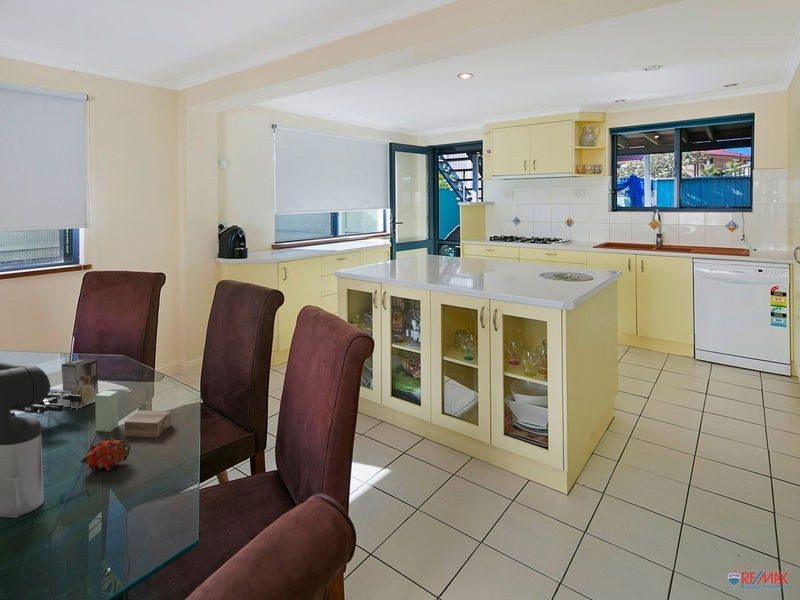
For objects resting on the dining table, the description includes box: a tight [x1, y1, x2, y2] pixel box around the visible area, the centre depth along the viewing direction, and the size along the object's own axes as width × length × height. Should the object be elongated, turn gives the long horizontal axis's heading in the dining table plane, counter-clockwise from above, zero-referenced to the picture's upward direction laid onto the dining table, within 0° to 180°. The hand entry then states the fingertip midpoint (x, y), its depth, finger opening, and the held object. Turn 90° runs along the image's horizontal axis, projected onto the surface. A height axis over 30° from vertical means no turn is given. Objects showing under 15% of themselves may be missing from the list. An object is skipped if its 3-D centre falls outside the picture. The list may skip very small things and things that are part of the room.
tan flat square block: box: [124, 409, 172, 438], centre depth 156 cm, size 10×10×5 cm
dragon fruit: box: [80, 437, 131, 471], centre depth 131 cm, size 8×8×12 cm
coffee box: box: [61, 357, 99, 408], centre depth 172 cm, size 9×6×16 cm
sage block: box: [94, 390, 119, 433], centre depth 154 cm, size 4×4×12 cm
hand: (72, 403), depth 154 cm, fingers open, 8 cm apart
